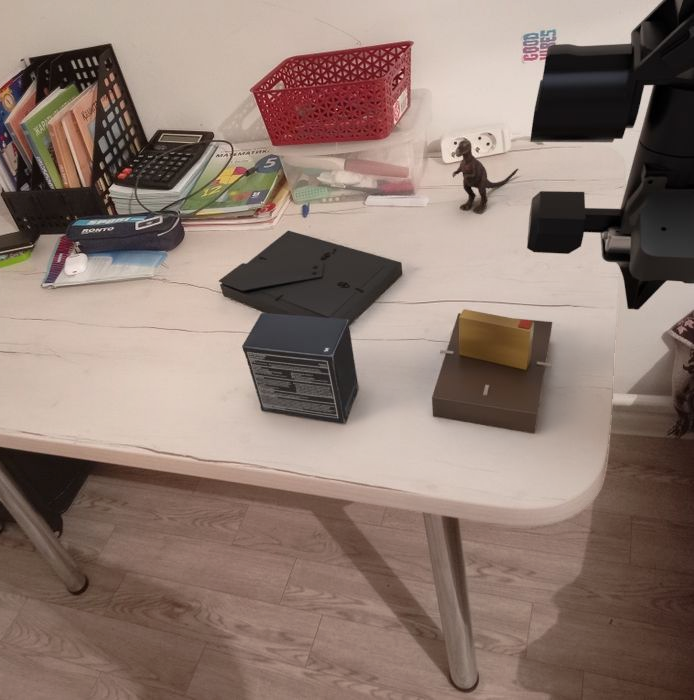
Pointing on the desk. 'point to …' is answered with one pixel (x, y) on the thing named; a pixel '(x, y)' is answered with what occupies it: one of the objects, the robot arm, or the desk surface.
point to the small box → (302, 366)
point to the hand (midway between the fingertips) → (632, 306)
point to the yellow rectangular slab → (496, 338)
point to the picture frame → (311, 279)
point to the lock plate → (492, 386)
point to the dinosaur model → (474, 177)
